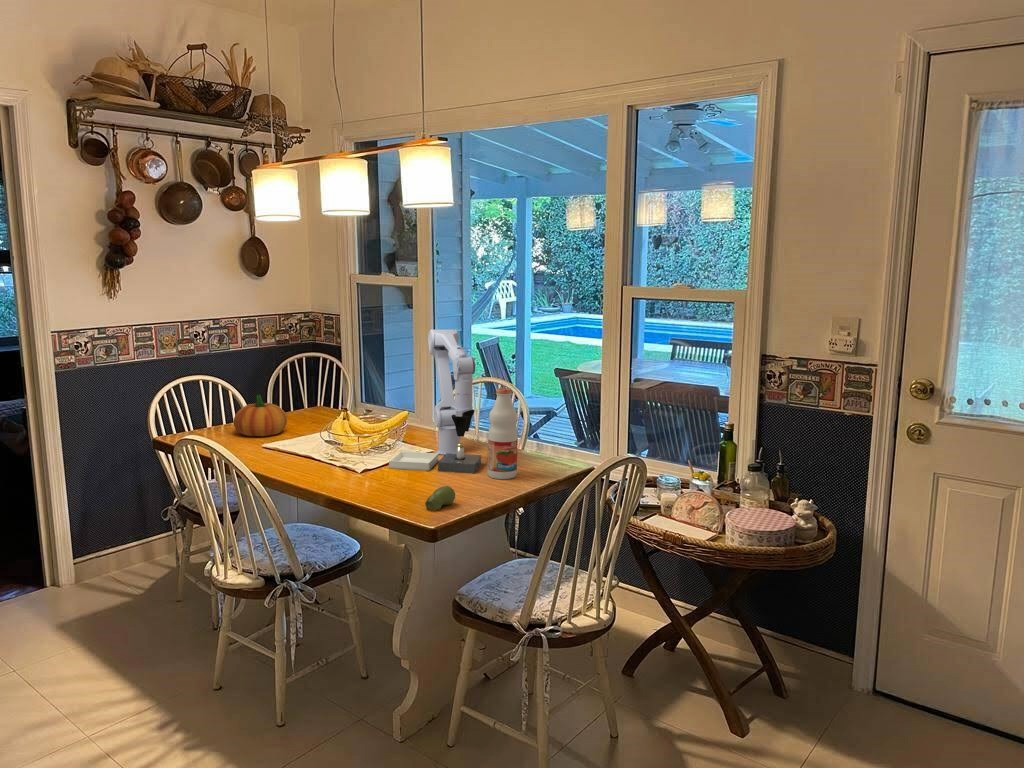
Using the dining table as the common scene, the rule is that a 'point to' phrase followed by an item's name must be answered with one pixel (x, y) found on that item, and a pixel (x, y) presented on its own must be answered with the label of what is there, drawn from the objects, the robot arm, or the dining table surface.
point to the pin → (460, 451)
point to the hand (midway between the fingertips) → (463, 433)
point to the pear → (440, 498)
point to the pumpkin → (260, 419)
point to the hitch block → (459, 463)
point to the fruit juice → (502, 437)
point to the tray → (413, 461)
